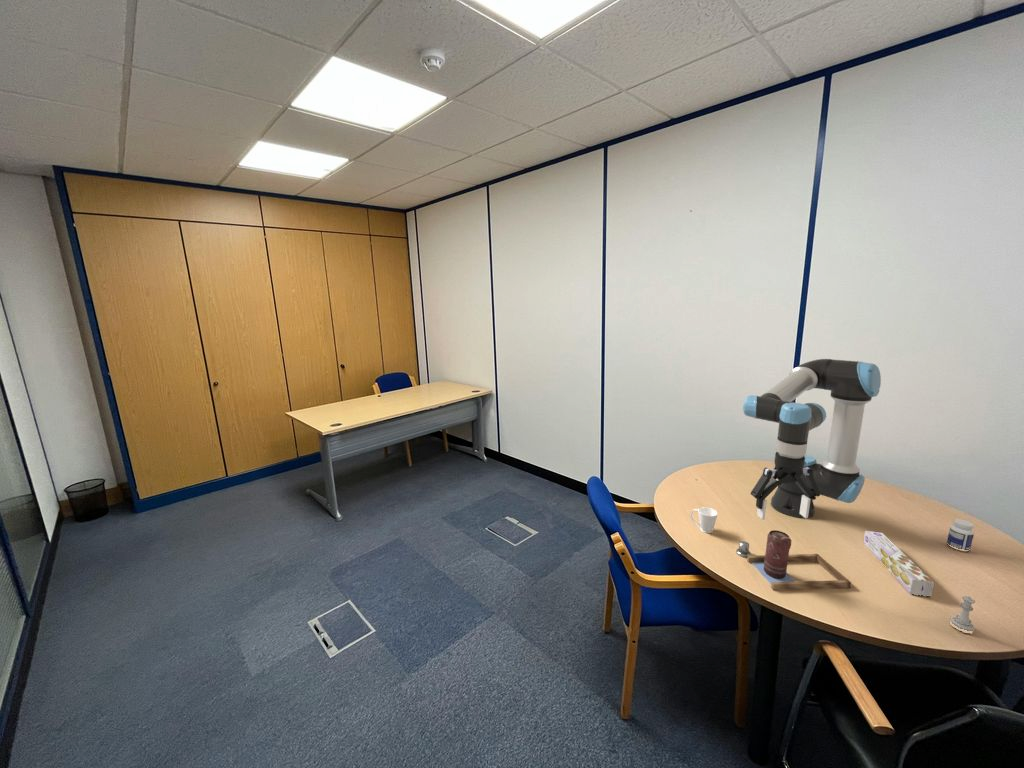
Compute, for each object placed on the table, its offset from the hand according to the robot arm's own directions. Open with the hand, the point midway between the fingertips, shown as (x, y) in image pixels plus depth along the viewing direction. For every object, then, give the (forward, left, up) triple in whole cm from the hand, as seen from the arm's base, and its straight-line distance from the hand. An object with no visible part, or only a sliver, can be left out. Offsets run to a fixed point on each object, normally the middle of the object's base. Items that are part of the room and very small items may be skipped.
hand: (782, 516), depth 128 cm
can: (0, 0, -20) cm, 20 cm away
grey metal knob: (+4, -11, -21) cm, 24 cm away
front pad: (0, 0, -21) cm, 21 cm away
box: (-40, -1, -21) cm, 46 cm away
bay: (-7, 0, -21) cm, 22 cm away
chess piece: (-36, +23, -21) cm, 48 cm away
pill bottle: (-72, -11, -21) cm, 75 cm away
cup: (+11, -27, -21) cm, 36 cm away
